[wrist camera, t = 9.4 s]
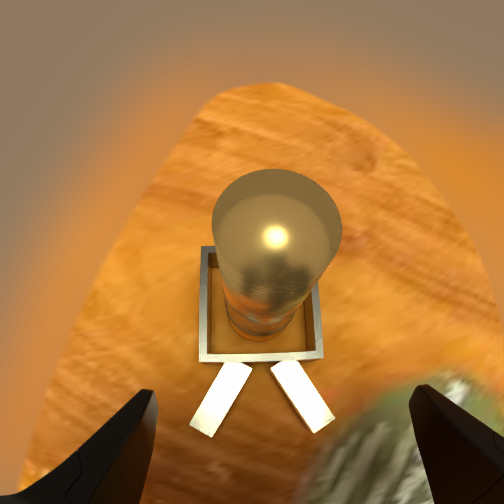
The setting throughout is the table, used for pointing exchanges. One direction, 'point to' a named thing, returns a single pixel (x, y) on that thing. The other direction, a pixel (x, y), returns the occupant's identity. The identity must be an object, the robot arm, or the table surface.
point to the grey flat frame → (236, 372)
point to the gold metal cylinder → (272, 247)
